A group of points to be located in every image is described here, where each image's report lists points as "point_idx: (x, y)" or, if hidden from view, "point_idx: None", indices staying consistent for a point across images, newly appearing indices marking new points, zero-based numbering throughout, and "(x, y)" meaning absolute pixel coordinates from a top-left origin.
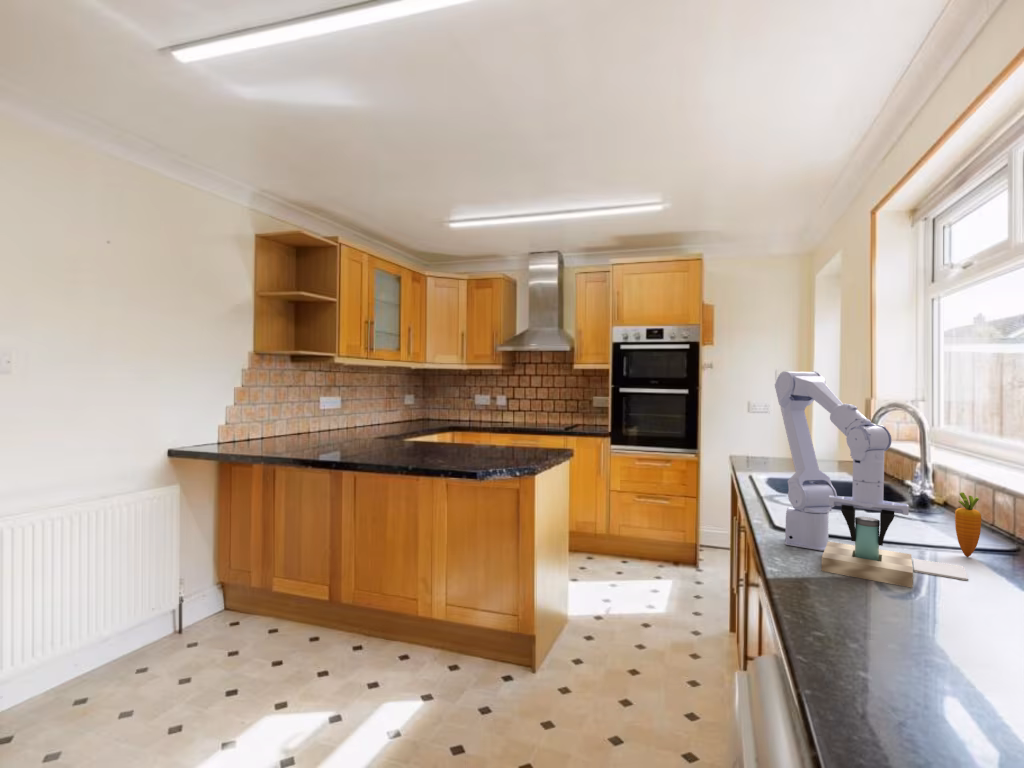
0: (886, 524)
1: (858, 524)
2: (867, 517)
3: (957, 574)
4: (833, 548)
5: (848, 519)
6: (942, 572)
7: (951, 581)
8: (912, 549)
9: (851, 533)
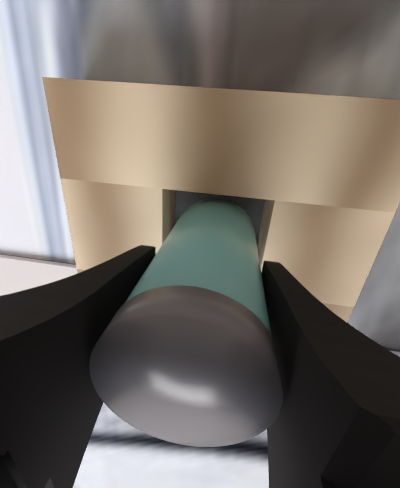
0: (25, 297)
1: (257, 318)
2: (180, 436)
3: (8, 278)
4: (331, 284)
5: (363, 349)
6: (37, 279)
7: (13, 228)
8: (116, 415)
9: (292, 278)
